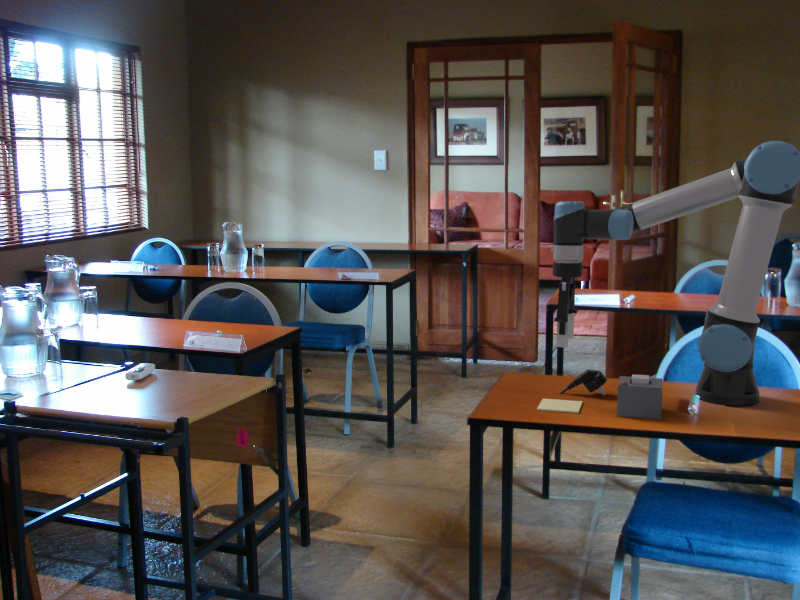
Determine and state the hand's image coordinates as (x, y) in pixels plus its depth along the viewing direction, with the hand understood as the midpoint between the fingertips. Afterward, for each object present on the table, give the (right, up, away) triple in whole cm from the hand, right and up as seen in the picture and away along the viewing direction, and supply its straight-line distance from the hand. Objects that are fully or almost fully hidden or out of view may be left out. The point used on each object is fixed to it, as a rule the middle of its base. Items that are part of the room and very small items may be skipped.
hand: (565, 342), depth 204 cm
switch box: (+15, -16, -16) cm, 27 cm away
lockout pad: (-3, -15, -10) cm, 19 cm away
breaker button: (+15, -11, -16) cm, 25 cm away
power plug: (+1, -16, +2) cm, 16 cm away
